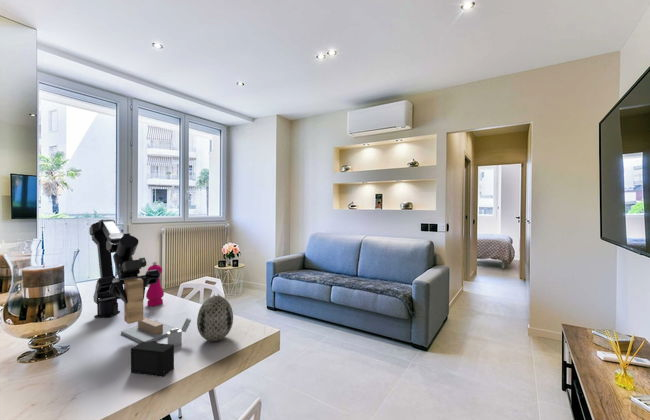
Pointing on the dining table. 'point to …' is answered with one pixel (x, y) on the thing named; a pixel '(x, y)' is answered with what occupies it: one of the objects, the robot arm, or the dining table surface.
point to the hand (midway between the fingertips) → (135, 301)
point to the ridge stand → (147, 331)
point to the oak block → (133, 300)
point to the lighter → (177, 334)
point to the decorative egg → (215, 318)
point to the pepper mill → (155, 289)
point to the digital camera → (152, 358)
